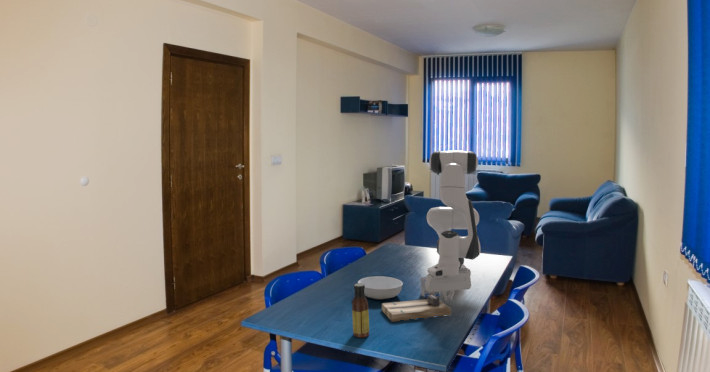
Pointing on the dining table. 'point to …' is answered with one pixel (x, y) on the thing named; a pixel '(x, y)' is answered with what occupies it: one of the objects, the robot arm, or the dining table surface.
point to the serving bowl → (381, 287)
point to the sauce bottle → (360, 312)
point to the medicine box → (423, 290)
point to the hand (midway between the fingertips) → (448, 300)
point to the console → (414, 310)
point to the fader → (433, 300)
